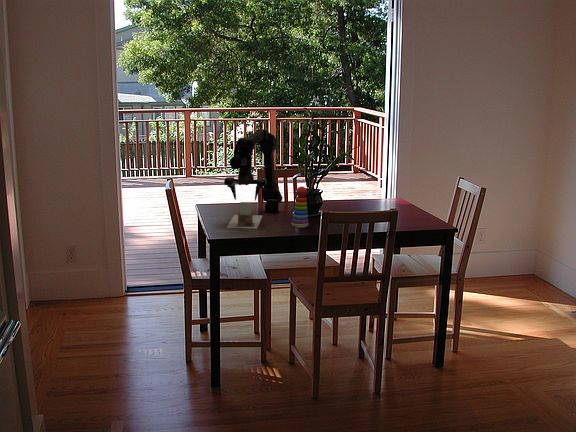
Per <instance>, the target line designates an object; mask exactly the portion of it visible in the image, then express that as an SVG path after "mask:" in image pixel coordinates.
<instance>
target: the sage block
mask: <svg viewBox="0 0 576 432" xmlns="http://www.w3.org/2000/svg"><path fill="white" fill-rule="evenodd" d="M252 205H253V204H252V202H249V201H240V203H239V213H240V215H251V213H253V210H252Z"/></svg>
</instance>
